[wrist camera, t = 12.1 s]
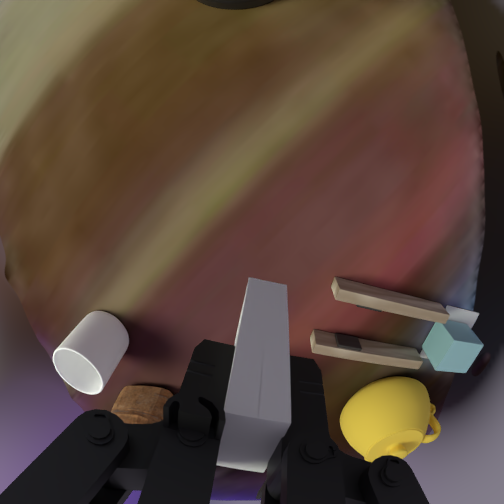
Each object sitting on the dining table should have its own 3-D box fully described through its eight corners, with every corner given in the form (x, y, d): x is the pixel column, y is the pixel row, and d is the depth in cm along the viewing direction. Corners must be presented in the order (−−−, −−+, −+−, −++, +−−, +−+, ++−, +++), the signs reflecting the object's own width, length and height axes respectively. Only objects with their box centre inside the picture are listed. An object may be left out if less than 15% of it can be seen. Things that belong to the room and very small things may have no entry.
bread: (176, 378, 48) (152, 444, 34) (212, 462, 57) (202, 513, 44) (117, 375, 49) (84, 432, 36) (163, 457, 59) (149, 505, 45)
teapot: (352, 369, 45) (368, 431, 33) (446, 367, 44) (474, 416, 32) (324, 439, 52) (329, 492, 40) (406, 434, 51) (420, 480, 39)
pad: (446, 305, 40) (447, 305, 40) (478, 313, 40) (479, 313, 40) (418, 356, 43) (418, 357, 43) (450, 360, 44) (451, 361, 43)
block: (437, 317, 40) (454, 340, 35) (466, 324, 40) (483, 344, 35) (421, 346, 42) (435, 370, 37) (451, 350, 42) (465, 372, 37)
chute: (334, 276, 39) (339, 288, 36) (440, 303, 40) (450, 315, 36) (309, 337, 43) (312, 352, 40) (411, 355, 43) (418, 368, 40)
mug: (64, 313, 45) (30, 348, 35) (117, 305, 43) (84, 347, 33) (85, 353, 48) (57, 391, 38) (138, 350, 46) (113, 395, 36)
